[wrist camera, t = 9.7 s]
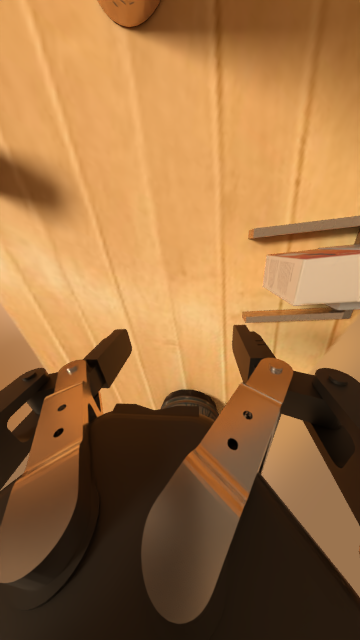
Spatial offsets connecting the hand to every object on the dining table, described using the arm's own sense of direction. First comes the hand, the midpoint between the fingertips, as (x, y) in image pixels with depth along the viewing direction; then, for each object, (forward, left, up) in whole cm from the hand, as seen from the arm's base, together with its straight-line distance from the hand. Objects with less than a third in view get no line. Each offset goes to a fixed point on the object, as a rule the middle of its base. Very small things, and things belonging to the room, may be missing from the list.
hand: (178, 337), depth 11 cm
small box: (-1, +17, -20) cm, 26 cm away
